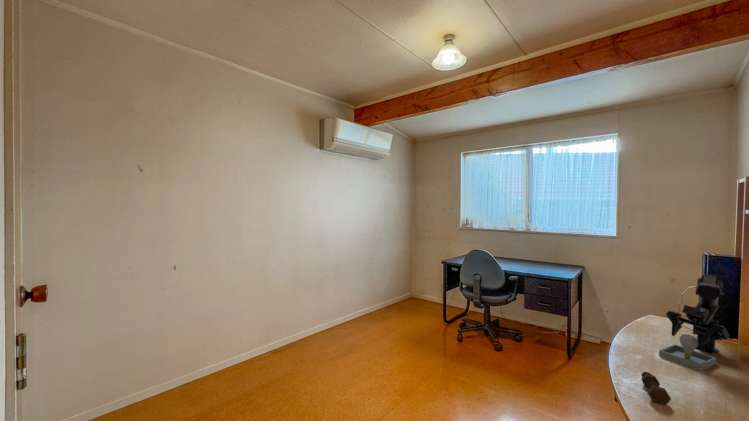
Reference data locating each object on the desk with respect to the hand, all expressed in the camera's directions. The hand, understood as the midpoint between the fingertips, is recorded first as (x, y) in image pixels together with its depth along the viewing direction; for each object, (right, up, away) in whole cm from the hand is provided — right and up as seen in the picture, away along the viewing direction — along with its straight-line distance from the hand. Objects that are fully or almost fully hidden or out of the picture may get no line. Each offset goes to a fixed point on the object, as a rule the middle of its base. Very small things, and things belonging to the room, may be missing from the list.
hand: (685, 340), depth 131 cm
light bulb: (+1, -8, +1) cm, 8 cm away
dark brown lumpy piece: (-32, -10, -21) cm, 39 cm away
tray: (+1, -9, +1) cm, 9 cm away
